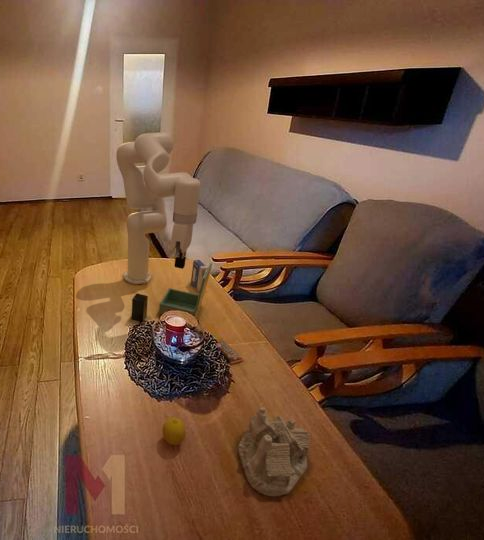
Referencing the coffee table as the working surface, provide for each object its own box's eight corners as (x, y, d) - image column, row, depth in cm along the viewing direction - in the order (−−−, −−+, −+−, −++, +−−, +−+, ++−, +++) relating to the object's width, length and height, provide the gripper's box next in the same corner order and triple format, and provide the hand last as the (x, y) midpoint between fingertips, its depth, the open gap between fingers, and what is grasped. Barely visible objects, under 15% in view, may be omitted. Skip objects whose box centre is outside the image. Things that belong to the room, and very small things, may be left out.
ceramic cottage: (244, 490, 77) (262, 445, 70) (233, 429, 91) (247, 386, 84) (320, 508, 74) (347, 463, 67) (297, 441, 89) (317, 399, 82)
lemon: (159, 433, 90) (161, 411, 86) (180, 431, 91) (183, 410, 87) (164, 452, 85) (167, 431, 82) (186, 450, 86) (190, 429, 82)
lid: (202, 277, 120) (205, 278, 119) (209, 262, 129) (212, 263, 129) (194, 310, 127) (196, 311, 126) (201, 294, 137) (204, 294, 136)
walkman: (190, 283, 156) (193, 259, 151) (196, 282, 157) (199, 258, 151) (198, 292, 150) (201, 267, 144) (204, 291, 150) (208, 267, 144)
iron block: (135, 314, 136) (136, 293, 131) (146, 317, 134) (147, 295, 130) (131, 321, 133) (132, 299, 128) (142, 324, 131) (143, 301, 126)
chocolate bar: (210, 343, 120) (210, 342, 120) (222, 340, 122) (222, 338, 121) (231, 364, 111) (231, 363, 111) (243, 361, 112) (244, 359, 112)
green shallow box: (158, 316, 135) (159, 303, 132) (168, 299, 145) (169, 288, 142) (193, 325, 130) (195, 312, 127) (201, 307, 139) (202, 295, 137)
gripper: (180, 209, 120) (175, 256, 129) (166, 222, 109) (162, 273, 118) (201, 211, 117) (195, 260, 126) (189, 226, 106) (184, 278, 114)
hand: (179, 266), depth 122 cm, fingers closed
